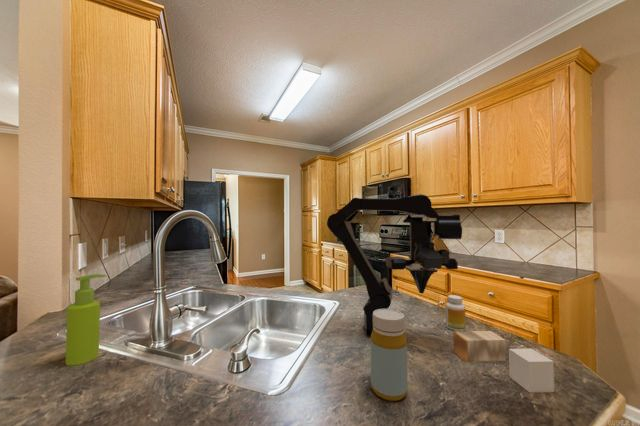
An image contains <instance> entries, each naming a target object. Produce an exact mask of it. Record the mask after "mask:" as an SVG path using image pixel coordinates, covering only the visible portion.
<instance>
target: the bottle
mask: <svg viewBox="0 0 640 426" xmlns="http://www.w3.org/2000/svg"><path fill="white" fill-rule="evenodd" d="M405 318H406V317H405V314H404V313H403V312H401V311H400V310H396V309H391V308H387V309H377V310H375V311H374V312H373V331H372V333H371V336H370V386H371V389H372V391H373V392H374V393H375V395H376V396H378V397H379V398H380V397H381V399H383V400H385V401H389V402H396V401H401V400H402V399H404V397H406V396H407V394H408V339H407V336H406V332H405V328H406V327H405V325H406V324H405V321H406V319H405Z"/></svg>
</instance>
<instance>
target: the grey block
mask: <svg viewBox="0 0 640 426" xmlns="http://www.w3.org/2000/svg"><path fill="white" fill-rule="evenodd" d="M508 359H509V360H508V361H509V362H508V368H509V370H508V371H509V378H510V379H512V380H513V381H514V382H515V383H517V384H518V385H519V386H520V387H522V388H523V389H525V390H526V391H527V392H529V393H555V369H554V361H553V360H552V359H551V358H549V357H546V356H545V355H543V354H542V353H540V352H538V351H536V350H534V349H533V348H509V349H508Z"/></svg>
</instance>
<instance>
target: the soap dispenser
mask: <svg viewBox="0 0 640 426" xmlns="http://www.w3.org/2000/svg"><path fill="white" fill-rule="evenodd" d="M105 277H107V275H106V274H101V273H100V274H97V273H96V274H88V275H87V274H86V275H83V276H78V277H75V281H79V282H80V283H79V284H80V285H79V288H78V289H77V290H75V291H74V303H73V304H70V305H68V306H67V307H66V333H65V335H66V336H65V337H66V338H65V363H64V364H65V365H66V366H68V367H69V366H71V367H72V366H79V365H83V364H86V363H89V362H90V361H94V360H95V359H96V358H98V356H99V355H100V353H99V352H100V324H101V323H100V321H101V317H100V316H101V301H100V300H95V299H94V298H95V295H94V294H95V289H94V288H92V287H91V286H90V285H91V284H90V280H91V279H95V278H105Z"/></svg>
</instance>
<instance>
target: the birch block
mask: <svg viewBox="0 0 640 426" xmlns="http://www.w3.org/2000/svg"><path fill="white" fill-rule="evenodd" d="M452 331H453V332H452V333H453V334H452V335H453V336H452V338H453V340H452V341H453V343H452V344H453V345H452V346H453V352H454V353H455V354H456V355H458V356H459V357H460V359H462V360H463V361H464V362H467V363H469V362H472V363H474V362H476V363H477V362H506V361H507V343H506V339H505V338H503V337H501V336H500V335H498V334H497V333H494V331H492V330H467V331H465V330H464V331H454V330H452Z"/></svg>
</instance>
